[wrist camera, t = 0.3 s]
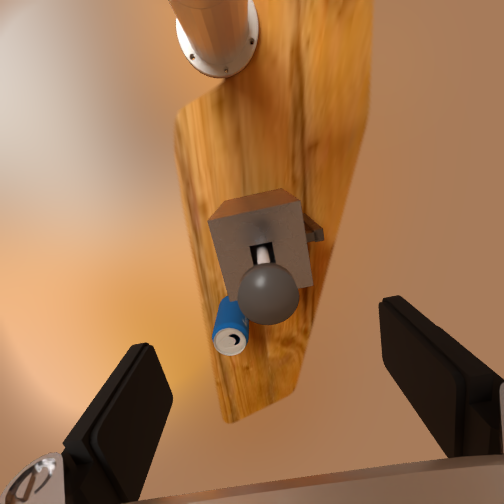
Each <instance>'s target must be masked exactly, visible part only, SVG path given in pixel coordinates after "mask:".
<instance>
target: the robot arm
mask: <svg viewBox="0 0 504 504" xmlns="http://www.w3.org/2000/svg"><path fill="white" fill-rule="evenodd" d="M168 1H169V3H170V5H171V6H172V9H173V11H174V13H175V15H176V32H177V37H178V41H179V44H180V47H181V49H182V51H183V53H184V55H185V57H186V58H187V60H188V61H189V62H190V63H191V65H192V66H193V67H194V68H195V69H197V70H198V71H199V72H200V73H202V74H204V75H206V76H209V77H213V78H227V77H231V76H233V75H235V74H237V73H238V72H240V71H241V70H243V69H244V67H245V66H246V65H247V64H248V63H249V61H250V60H251V58H252V57H253V54H254V52H255V49H256V46H257V41H258V33H259V24H258V16H257V11H256V8H255V5H254V3H253V1H252V0H168ZM251 42H253V45H251V44H250V43H251ZM192 58H195V60H192ZM226 70H228V73H226V72H225V71H226ZM379 317H380V318H379V319H380V332H381V345H382V358H383V362H384V365H385V367H386V368H387V370H388V371H389V373H390V374H391V376H392V377H393V379H394V380H395V381H396V383H397V385H398V386H399V387H400V389H401V390H402V392H403V393H404V395H405V396H406V398H407V399H408V400H409V402H410V403H411V405H412V406H413V408H414V409H415V411H416V412H417V413H418V415H419V417H420V418H421V419H422V421H423V422H424V424H425V425H426V427H427V428H428V430H429V431H430V433H431V434H432V435H433V437H434V438H435V440H436V441H437V443H438V444H439V446H440V447H441V449H442V450H443V452H444V453H445V454H446V456H447V457H448V458H447V459H438V460H430V461H421V462H412V463H403V464H396V465H388V466H382V467H374V468H366V469H359V470H351V471H344V472H336V473H330V474H322V475H314V476H307V477H301V478H293V479H286V480H279V481H272V482H265V483H257V484H250V485H244V486H236V487H229V488H222V489H216V490H208V491H202V492H195V493H189V494H182V495H175V496H168V497H162V498H155V499H148V500H141V501H138V499H139V497H140V494H141V491H142V488H143V486H144V483H145V480H146V477H147V474H148V471H149V468H150V466H151V463H152V460H153V457H154V454H155V451H156V448H157V446H158V443H159V440H160V437H161V434H162V432H163V428H164V426H165V423H166V420H167V417H168V414H169V412H170V409H171V406H172V403H173V395H172V392H171V389H170V387H169V384H168V382H167V380H166V377H165V374H164V372H163V370H162V367H161V364H160V362H159V360H158V357H157V354H156V352H155V349H154V347H153V346H152V345H149V344H148V343H140V344H135V345H132V346H131V347H130V348H129V350H128V351H127V353H126V354H125V356H124V357H123V358H122V360H121V361H120V363H119V364H118V366H117V367H116V368H115V370H114V371H113V372H112V374H111V375H110V377H109V378H108V380H107V381H106V383H105V384H104V385H103V387H102V388H101V390H100V391H99V392H98V394H97V395H96V396H95V398H94V399H93V401H92V402H91V403H90V405H89V407H88V408H87V409H86V411H85V412H84V413H83V415H82V416H81V418H80V419H79V420H78V422H77V423H76V425H75V426H74V428H73V429H72V430H71V432H70V433H69V435H68V436H67V437H66V439H65V440H64V442H63V445H64V446H65V449H64V451H63V452H62V453H61V454H59V453H57V452H56V453H48V454H46V455H43V456H41V457H39V458H38V459H36V460H34V461H32V462H31V463H30V464H28V465H27V466H26V467H24V468H23V469H22V470H21V471H20V472H19V473H18V474H17V475H16V476H15V477H14V478H13V479H12V480H11V481H10V483H9V484H8V485H7V486H6V488H5V489H4V491H3V492H2V494H1V496H0V504H504V379H502V378H501V377H500V376H499V375H497V374H496V373H495V372H494V371H493V370H492V369H490V368H489V367H488V366H487V365H485V364H484V363H483V362H482V361H480V360H479V359H478V358H477V357H475V356H474V355H473V354H472V353H471V352H470V351H468V350H467V349H466V348H464V347H463V346H462V345H461V344H460V343H459V342H457V341H456V340H455V339H454V338H452V337H451V336H450V335H449V334H448V333H446V332H445V331H444V330H443V329H441V328H440V327H438V326H436V325H435V324H434V323H433V322H431V321H430V320H429V319H428V318H427V317H425V316H424V315H423V314H422V313H420V312H419V311H418V310H417V309H416V308H414V307H413V306H412V305H411V304H410V303H408V302H407V301H406V300H405V299H403V298H402V297H401V296H399V295H397V296H392V297H387V298H383V301H382V302H380V303H379Z"/></svg>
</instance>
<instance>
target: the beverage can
mask: <svg viewBox="0 0 504 504" xmlns="http://www.w3.org/2000/svg"><path fill="white" fill-rule="evenodd" d="M248 338H249V319H248V318H247V317H246V316H245V315H244V314H243V313H242V312H241V310H240V308H239V305H238V300H237V301H232V302H230V300H229V296H226V297H225V298H223V299H222V301H221V302H220V305H219V309H218V313H217V317H216V322H215V326H214V330H213V334H212V339H213V343H214V346H215V348H216V350H217V351H218V352H220V353H221V354H224V355H228V356H232V355H236V354H239V353H240V352H242V351H243V350H244V348H245V346H246V345H247V343H248Z"/></svg>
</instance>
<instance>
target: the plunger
mask: <svg viewBox="0 0 504 504" xmlns="http://www.w3.org/2000/svg"><path fill="white" fill-rule="evenodd" d="M250 249H251V254H252V258H253V262H254V264H257V265H255V266H253V267H251V268H250V269H248V270H247V271H246V272H245V273H244V274H243V276H242V278H241V280H240V282H239V288H238V297H237V298H238V305H239V308H240V310H241V312H242V313H243V314H244V315H245V316H246V317H247V318H248V319H249V320H251V321H253V322H255V323H258V324H262V325H273V324H278V323H280V322H283V321H285V320H286V319H288V318H289V317H290V316H291V315H292V314H293V313H294V311H295V310H296V308H297V306H298V302H299V292H298V288H297V286H296V283H295V280H294V278H293V276H292V274H291V273H290V272H289V271H288V270H287V269H286V268H284V267H282V266H281V265H278V264H274V263H270V261H273V260H275V256H274V251H273V246H272V242H267V243H263V244H258V245H253V246H250Z"/></svg>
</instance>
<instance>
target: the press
mask: <svg viewBox="0 0 504 504" xmlns="http://www.w3.org/2000/svg"><path fill="white" fill-rule="evenodd" d="M208 224H209V228H210V232H211V235H212V239H213V242H214V246H215V250H216V253H217V257H218V260H219V264H220V268H221V271H222V275H223V278H224V282H225V286H226V289H227V293H228V296H229V300H230V302H232V301H237V300H238V298H237V297H238V288H239V282H240V280H241V278H242V276H243V274H244V273H245V272H246V271H247V270H248V269H250V268H251V267H253V266H255V265H257V264H254V262H253V258H252V254H251V249H250V246H253V245H258V244H263V243H267V242H272V246H273V251H274V256H275V260H273V261H270V263H274V264H278V265H281V266H282V267H284V268H286V269H287V270H288V271H289V272H290V273H291V274H292V276H293V278H294V280H295V283H296V286H297V288H298V289H299V288H304V287H309V286H313V279H312V273H311V266H310V260H309V254H308V247H307V242H311V241H315V242H318V241H323V240H324V234H323V228H321V227H320V226H319V225H318V224H317V223H315V222H314V221H313V220H312V219H311V218H310V217H308V216H307V215H306V214H305V213H303V214H302V208H301V202H300V200H299V199H297V198H296V197H294V196H293V195H291V194H290V193H288V192H287V191H285V190H284V189H282V188H280V189H276V190H271V191H267V192H262V193H258V194H253V195H249V196H244V197H240V198H235V199H231V200H226V201H224V202H223V203H222V204H221V206H220V207H219V208H218V209H217V210H216V211H215V213H214V214H213V215H212V216H211V217H210V218H209V220H208Z"/></svg>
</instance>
